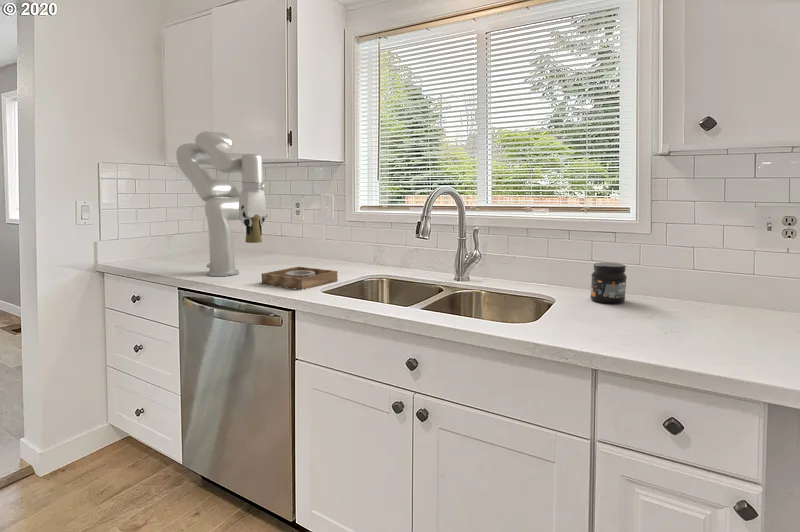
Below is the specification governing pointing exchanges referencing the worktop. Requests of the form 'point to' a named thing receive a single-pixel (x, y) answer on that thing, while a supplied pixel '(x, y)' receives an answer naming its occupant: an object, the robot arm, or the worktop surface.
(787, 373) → the worktop surface
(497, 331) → the worktop surface
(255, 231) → the cork
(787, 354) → the worktop surface
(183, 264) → the worktop surface
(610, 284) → the supplement container
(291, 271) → the box
